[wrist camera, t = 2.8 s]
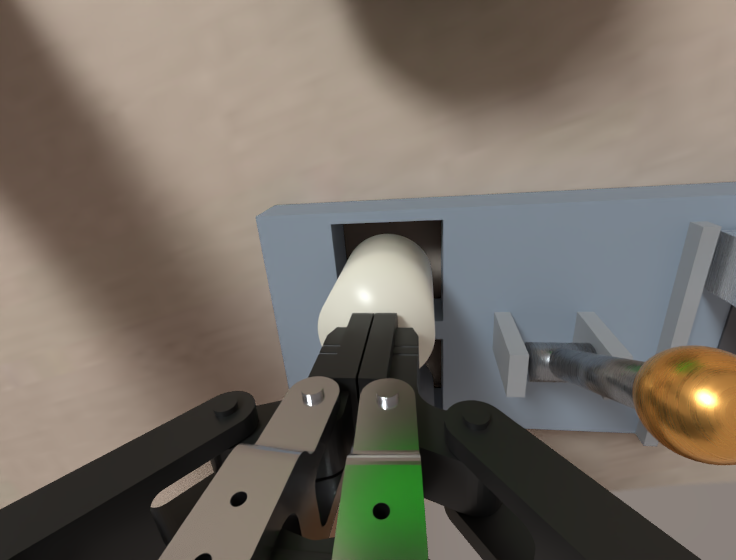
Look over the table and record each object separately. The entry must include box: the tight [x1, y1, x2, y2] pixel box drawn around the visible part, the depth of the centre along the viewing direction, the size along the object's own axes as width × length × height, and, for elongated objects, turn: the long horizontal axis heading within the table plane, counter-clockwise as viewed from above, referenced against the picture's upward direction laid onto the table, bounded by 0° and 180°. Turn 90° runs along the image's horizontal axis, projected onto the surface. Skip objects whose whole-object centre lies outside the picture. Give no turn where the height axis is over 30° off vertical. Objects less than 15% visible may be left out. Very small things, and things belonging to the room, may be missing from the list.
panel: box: [256, 182, 736, 446], centre depth 17 cm, size 12×26×6 cm, turn 94°
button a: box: [318, 234, 435, 368], centre depth 15 cm, size 4×4×5 cm
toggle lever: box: [524, 342, 736, 465], centre depth 11 cm, size 2×2×10 cm
